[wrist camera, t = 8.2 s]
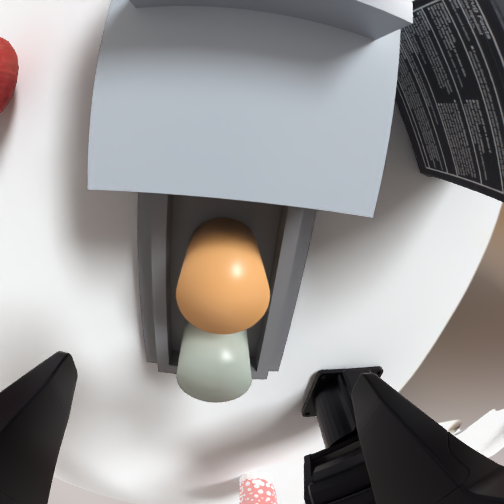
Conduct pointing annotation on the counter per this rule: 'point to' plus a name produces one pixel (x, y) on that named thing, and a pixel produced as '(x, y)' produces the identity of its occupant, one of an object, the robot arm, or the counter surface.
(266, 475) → the beverage cup
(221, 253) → the orange rounded tapered piece
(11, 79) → the onion
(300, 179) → the lid
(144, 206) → the housing
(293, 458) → the counter surface
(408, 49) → the small box
